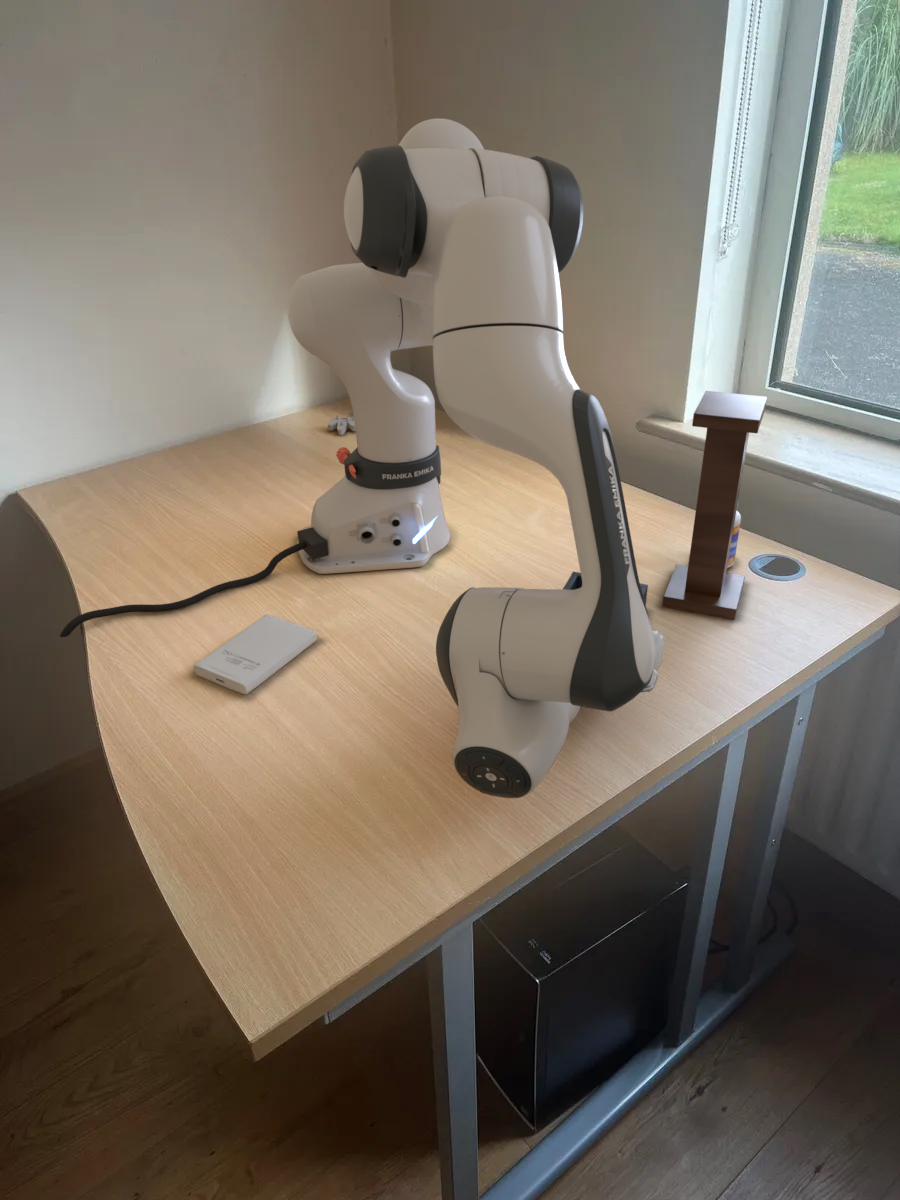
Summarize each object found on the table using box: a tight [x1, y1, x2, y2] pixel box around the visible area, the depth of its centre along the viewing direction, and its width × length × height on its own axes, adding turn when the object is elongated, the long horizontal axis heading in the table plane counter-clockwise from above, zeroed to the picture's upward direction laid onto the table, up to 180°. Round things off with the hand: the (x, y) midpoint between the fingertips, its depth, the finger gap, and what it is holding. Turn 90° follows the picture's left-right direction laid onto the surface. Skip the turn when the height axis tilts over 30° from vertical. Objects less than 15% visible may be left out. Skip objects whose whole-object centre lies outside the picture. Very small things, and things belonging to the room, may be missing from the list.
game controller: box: [327, 412, 356, 436], centre depth 169 cm, size 6×12×3 cm, turn 12°
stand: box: [661, 390, 768, 620], centre depth 105 cm, size 10×9×26 cm
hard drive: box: [192, 614, 318, 695], centre depth 102 cm, size 2×8×12 cm
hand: (583, 605), depth 97 cm, fingers open, 8 cm apart
